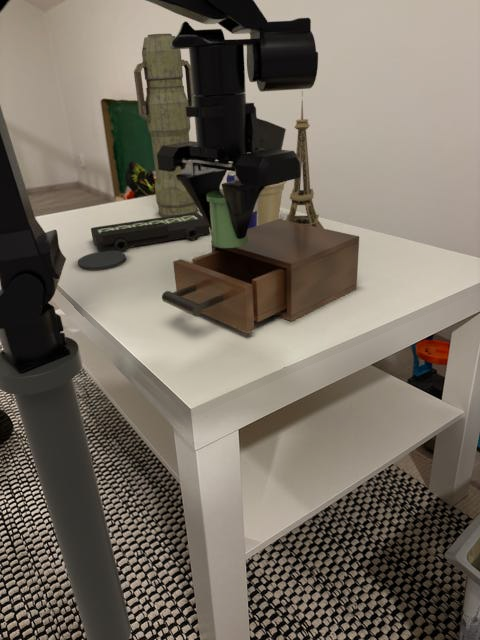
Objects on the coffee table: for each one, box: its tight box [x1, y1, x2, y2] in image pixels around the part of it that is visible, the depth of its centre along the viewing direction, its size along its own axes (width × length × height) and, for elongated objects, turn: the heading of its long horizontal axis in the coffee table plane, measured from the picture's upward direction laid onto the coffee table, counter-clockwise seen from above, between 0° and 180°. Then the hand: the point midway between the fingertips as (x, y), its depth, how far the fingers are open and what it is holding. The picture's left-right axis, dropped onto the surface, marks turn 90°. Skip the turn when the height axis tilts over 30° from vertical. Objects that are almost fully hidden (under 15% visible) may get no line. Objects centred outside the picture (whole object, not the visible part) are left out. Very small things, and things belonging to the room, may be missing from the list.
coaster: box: [77, 250, 127, 271], centre depth 87 cm, size 8×8×1 cm
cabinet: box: [210, 218, 360, 322], centre depth 70 cm, size 14×15×8 cm
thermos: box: [133, 33, 198, 217], centre depth 106 cm, size 9×12×35 cm
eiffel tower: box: [285, 89, 325, 229], centre depth 81 cm, size 11×11×25 cm
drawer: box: [161, 249, 287, 334], centre depth 64 cm, size 17×13×6 cm
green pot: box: [206, 189, 248, 248], centre depth 61 cm, size 5×5×6 cm
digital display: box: [90, 212, 210, 253], centre depth 97 cm, size 21×3×10 cm
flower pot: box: [258, 181, 287, 225], centre depth 100 cm, size 9×9×9 cm
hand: (228, 234), depth 62 cm, fingers closed on green pot, 4 cm apart
